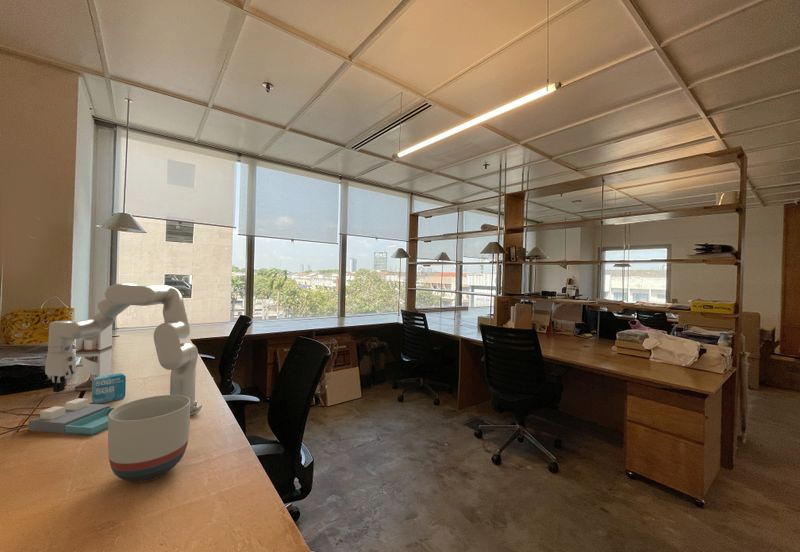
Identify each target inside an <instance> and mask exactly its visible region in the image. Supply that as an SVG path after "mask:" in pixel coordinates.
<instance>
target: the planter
mask: <svg viewBox="0 0 800 552" xmlns="http://www.w3.org/2000/svg"><path fill="white" fill-rule="evenodd" d="M114 408H115V409H113V410H112V411H111V412H110V413H109V415H108V429H107V449H108V450H107V451H108V462H109V466H110V468H111V470H112V472H113V474H114V475H115V477H117V478H119V479H121V480H122V481H124V482H130V483H144V482H149V481H150V482H151V481H152V480H156V479H159V478H161V477H163V476H164V475H167V473H168V472H170V471H171V470H173V469H174V467H175V466H177V464H178V463H179V462H181V460H182V459H183V456H184V454H185V452H186V450H187V447H188V443H189V435H190V422H191V415H190V399H189V398H188V397H185V396H181V395H170V394H163V395H156V396H150V397H144V398H143V397H142V398H139V399H136V400H133V401H129V402H126V403H123V404H121V405H119V406H117V407H114Z"/></svg>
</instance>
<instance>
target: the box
mask: <svg viewBox="0 0 800 552" xmlns="http://www.w3.org/2000/svg"><path fill="white" fill-rule="evenodd" d="M115 408H116V407H110V408H108V409H106V410H103V411H101V412H98V413H96V414H93V415H91V416H88V417H86V418H83V419H81V420H78V421H76V422H73V423H71V424H68V425H66V426H65V433H64V434H67V435H78V436H79V435H81V436H82V435H83V436H89V437H91V436H94V435H97V434H99V433H101V432H103V431H106V430H108V415H109V413H110V412H111V411H112V410H113V409H115Z"/></svg>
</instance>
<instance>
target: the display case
mask: <svg viewBox="0 0 800 552" xmlns="http://www.w3.org/2000/svg"><path fill="white" fill-rule="evenodd" d="M112 354H113V323H112V324H111V325H110V326H109V327H107V328H106V329H105V330H103V331H102V332H100V333H98V334H96V335H93V336H88V337H84V338H80V339H75V358H83V363H82V364H83V365H82V366H83V368H82V369H83V371H84V372H85V373H87V374H89V379H87V380H86V381H84V382H81V383H80V384H78V385H76V386H74V391H75V390H79V391H89V390H88V389H92V380H93V379H94V378H95V377H100V376H106V375H112V366H113V364H112V362H113V361H112V357H113V356H112Z"/></svg>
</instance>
